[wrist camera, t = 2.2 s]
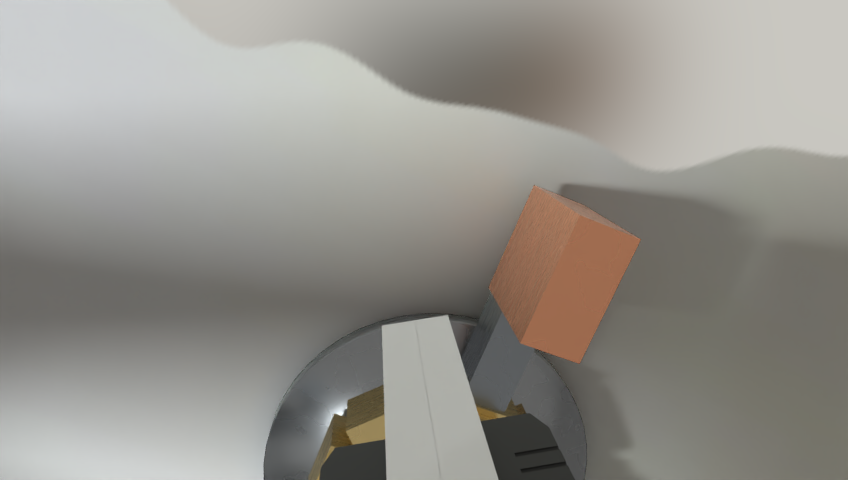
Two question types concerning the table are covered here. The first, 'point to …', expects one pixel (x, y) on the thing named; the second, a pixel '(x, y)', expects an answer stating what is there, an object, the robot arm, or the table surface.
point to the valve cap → (363, 371)
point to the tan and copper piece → (522, 311)
